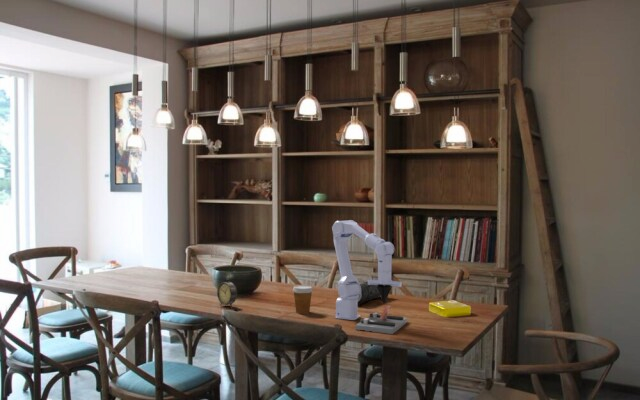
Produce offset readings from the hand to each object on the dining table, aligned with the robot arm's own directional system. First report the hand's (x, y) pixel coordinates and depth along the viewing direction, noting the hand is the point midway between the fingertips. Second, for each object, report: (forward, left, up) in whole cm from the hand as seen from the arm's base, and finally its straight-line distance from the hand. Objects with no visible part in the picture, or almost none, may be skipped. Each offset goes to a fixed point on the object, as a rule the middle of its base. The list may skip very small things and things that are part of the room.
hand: (384, 302), depth 246 cm
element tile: (+20, +38, -11) cm, 44 cm away
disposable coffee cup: (-43, +9, -10) cm, 45 cm away
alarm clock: (-82, +5, -10) cm, 83 cm away
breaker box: (-1, 0, -10) cm, 10 cm away
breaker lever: (-1, 0, -7) cm, 7 cm away
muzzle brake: (-24, +46, -10) cm, 53 cm away
